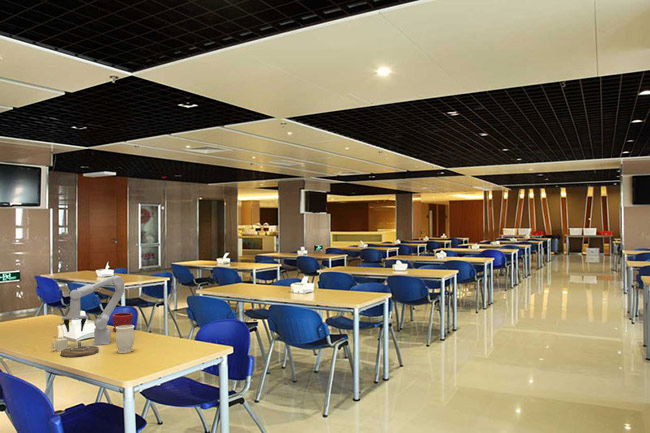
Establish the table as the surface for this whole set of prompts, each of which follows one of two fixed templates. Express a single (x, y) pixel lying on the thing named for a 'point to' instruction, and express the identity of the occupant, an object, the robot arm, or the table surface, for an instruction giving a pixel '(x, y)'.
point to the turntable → (79, 351)
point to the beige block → (60, 344)
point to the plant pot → (121, 319)
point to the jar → (124, 338)
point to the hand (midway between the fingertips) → (75, 331)
